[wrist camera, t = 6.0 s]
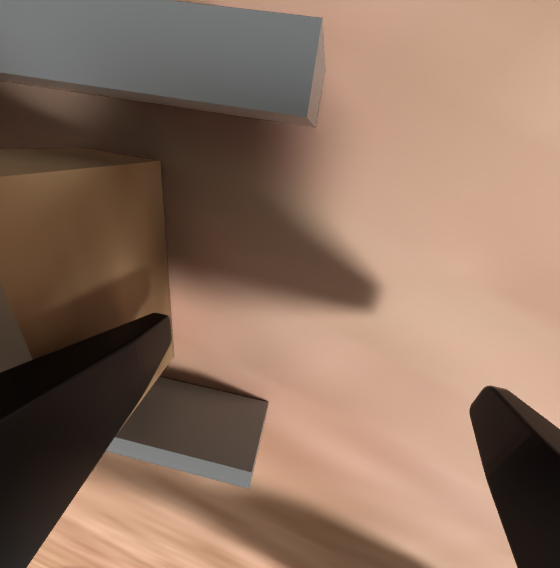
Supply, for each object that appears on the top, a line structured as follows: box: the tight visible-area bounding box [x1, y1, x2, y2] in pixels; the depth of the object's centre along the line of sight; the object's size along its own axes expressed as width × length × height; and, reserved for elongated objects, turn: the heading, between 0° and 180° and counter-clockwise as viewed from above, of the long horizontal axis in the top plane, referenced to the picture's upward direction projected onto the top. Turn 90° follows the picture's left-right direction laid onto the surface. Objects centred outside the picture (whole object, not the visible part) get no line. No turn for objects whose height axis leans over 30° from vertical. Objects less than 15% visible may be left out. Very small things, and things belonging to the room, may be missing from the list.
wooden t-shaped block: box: [0, 148, 174, 431], centre depth 8 cm, size 8×8×5 cm
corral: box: [0, 0, 325, 489], centre depth 9 cm, size 13×14×3 cm
